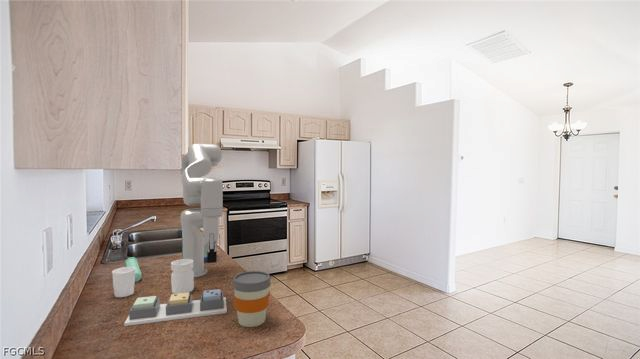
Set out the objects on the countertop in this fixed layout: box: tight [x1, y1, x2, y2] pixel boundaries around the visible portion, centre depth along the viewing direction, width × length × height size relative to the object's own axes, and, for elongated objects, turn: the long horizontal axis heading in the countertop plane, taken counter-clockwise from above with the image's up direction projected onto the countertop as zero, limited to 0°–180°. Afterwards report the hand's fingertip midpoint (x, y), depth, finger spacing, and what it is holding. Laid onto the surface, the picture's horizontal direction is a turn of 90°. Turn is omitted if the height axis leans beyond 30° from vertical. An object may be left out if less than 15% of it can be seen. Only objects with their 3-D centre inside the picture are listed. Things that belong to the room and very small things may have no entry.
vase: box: [170, 258, 195, 294], centre depth 133 cm, size 9×9×12 cm
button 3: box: [202, 288, 222, 302], centre depth 117 cm, size 6×6×3 cm
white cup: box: [111, 266, 136, 298], centre depth 128 cm, size 8×8×10 cm
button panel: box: [123, 291, 228, 327], centre depth 114 cm, size 12×32×4 cm, turn 108°
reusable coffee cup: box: [232, 270, 271, 328], centre depth 108 cm, size 13×13×15 cm
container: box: [124, 256, 143, 283], centre depth 151 cm, size 6×6×25 cm
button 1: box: [132, 295, 157, 310], centre depth 110 cm, size 6×6×3 cm
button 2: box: [169, 292, 190, 306], centre depth 114 cm, size 6×6×3 cm
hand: (212, 261), depth 116 cm, fingers closed
